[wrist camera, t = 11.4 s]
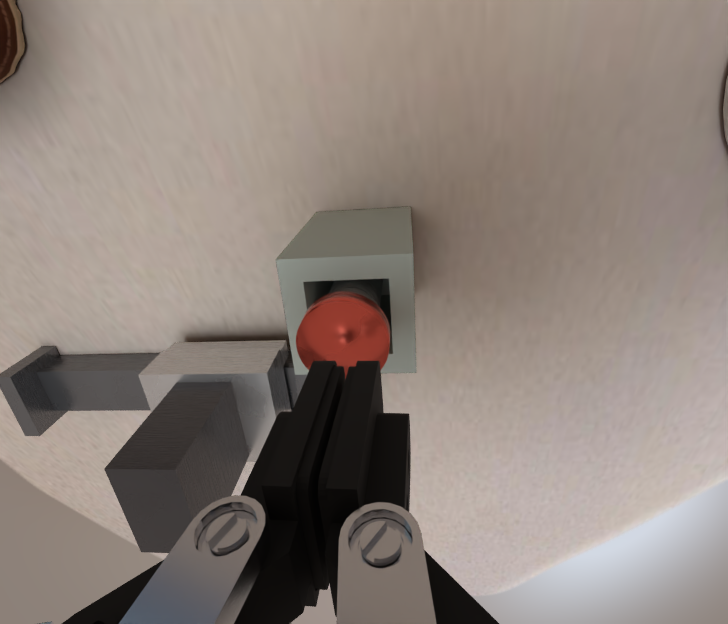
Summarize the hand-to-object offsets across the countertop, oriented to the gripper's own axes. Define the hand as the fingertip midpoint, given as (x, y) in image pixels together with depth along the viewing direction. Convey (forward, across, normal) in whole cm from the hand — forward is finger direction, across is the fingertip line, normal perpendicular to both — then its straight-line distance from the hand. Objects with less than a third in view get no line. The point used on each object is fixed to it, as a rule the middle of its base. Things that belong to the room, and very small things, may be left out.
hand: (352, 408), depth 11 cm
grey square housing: (+14, +1, 0) cm, 14 cm away
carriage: (+13, +10, +8) cm, 18 cm away
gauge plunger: (+11, +1, 0) cm, 11 cm away
